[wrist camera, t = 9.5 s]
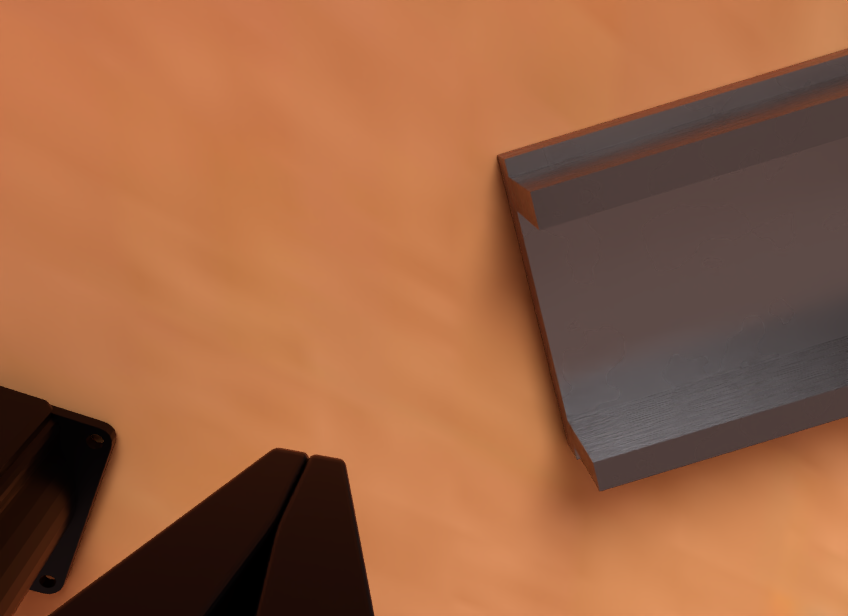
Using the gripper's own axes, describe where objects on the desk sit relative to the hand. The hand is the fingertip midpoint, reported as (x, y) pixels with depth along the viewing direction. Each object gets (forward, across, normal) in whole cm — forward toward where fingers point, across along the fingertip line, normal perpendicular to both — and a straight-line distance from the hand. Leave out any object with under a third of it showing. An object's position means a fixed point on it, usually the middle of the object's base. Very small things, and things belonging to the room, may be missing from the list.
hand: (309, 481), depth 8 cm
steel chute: (+16, -16, -1) cm, 23 cm away
